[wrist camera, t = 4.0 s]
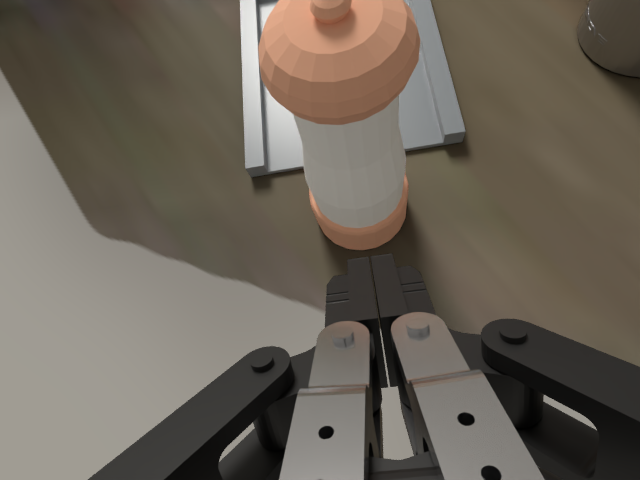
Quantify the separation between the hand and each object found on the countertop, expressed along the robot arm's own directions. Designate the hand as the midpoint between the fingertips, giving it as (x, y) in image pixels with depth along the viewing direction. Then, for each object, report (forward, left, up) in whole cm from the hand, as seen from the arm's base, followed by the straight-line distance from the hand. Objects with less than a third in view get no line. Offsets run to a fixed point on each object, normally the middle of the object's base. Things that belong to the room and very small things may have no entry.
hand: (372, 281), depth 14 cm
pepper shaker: (0, -11, -17) cm, 20 cm away
